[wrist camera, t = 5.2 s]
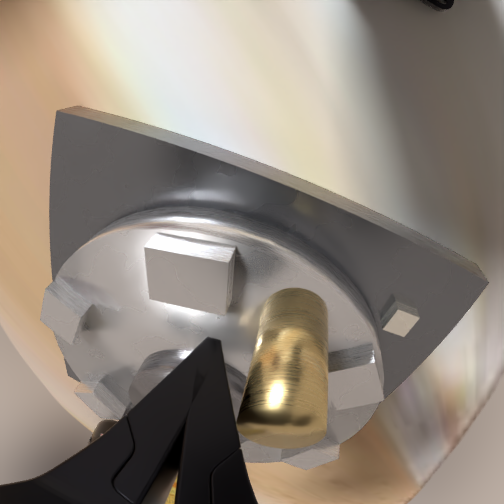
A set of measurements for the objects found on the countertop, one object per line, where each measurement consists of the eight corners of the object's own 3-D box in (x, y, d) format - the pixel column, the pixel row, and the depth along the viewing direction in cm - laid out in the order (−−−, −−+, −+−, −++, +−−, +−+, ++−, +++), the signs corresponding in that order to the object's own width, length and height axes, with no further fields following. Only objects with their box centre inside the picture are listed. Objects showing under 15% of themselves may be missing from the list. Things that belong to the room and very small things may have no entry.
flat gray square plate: (77, 105, 12) (47, 112, 10) (476, 264, 12) (494, 290, 10) (76, 362, 22) (64, 380, 20) (301, 449, 23) (299, 470, 21)
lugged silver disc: (391, 187, 10) (467, 312, 4) (362, 439, 18) (360, 524, 12) (28, 228, 14) (-57, 298, 8) (138, 421, 22) (108, 486, 16)
